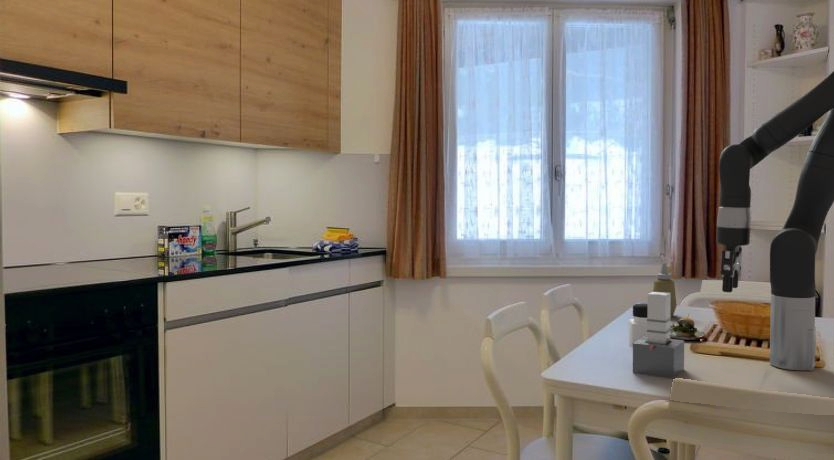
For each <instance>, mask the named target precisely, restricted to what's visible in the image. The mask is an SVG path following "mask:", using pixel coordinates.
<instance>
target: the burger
mask: <svg viewBox="0 0 834 460" xmlns="http://www.w3.org/2000/svg"><path fill="white" fill-rule="evenodd" d="M689 315H690V314H688V316H687V317H682V318H680V319H678V322H677V325H675V324H674V323H672V325H671V324H670V329H671V331H670V338H671V339H676V340H687V341H690V340H691V341H693V340H698V341H699V340H700V339H704V340H706V339H707V338H706V336H707V335H706V333H705V332H704V331H700V330H698V328H697V327H695V322H694V320H693V319H691V318H689ZM699 336H702V337H699ZM705 338H706V339H705Z"/></svg>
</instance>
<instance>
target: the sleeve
mask: <svg viewBox="0 0 834 460" xmlns="http://www.w3.org/2000/svg"><path fill="white" fill-rule="evenodd" d="M684 370H685V339H677V338H670V344H668V345H660V344H652V343H647V336H644V337H642V338H641V339H639V340H637V341H636V342H634V343H633V347H632V374H640V375H644V376H646V375H647V376H652V377H659V378H665V379H671V380H672V379H673V380H675V378H676V377H678V376H679V375H680V374H681V373H682V372H683V371H684Z"/></svg>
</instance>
